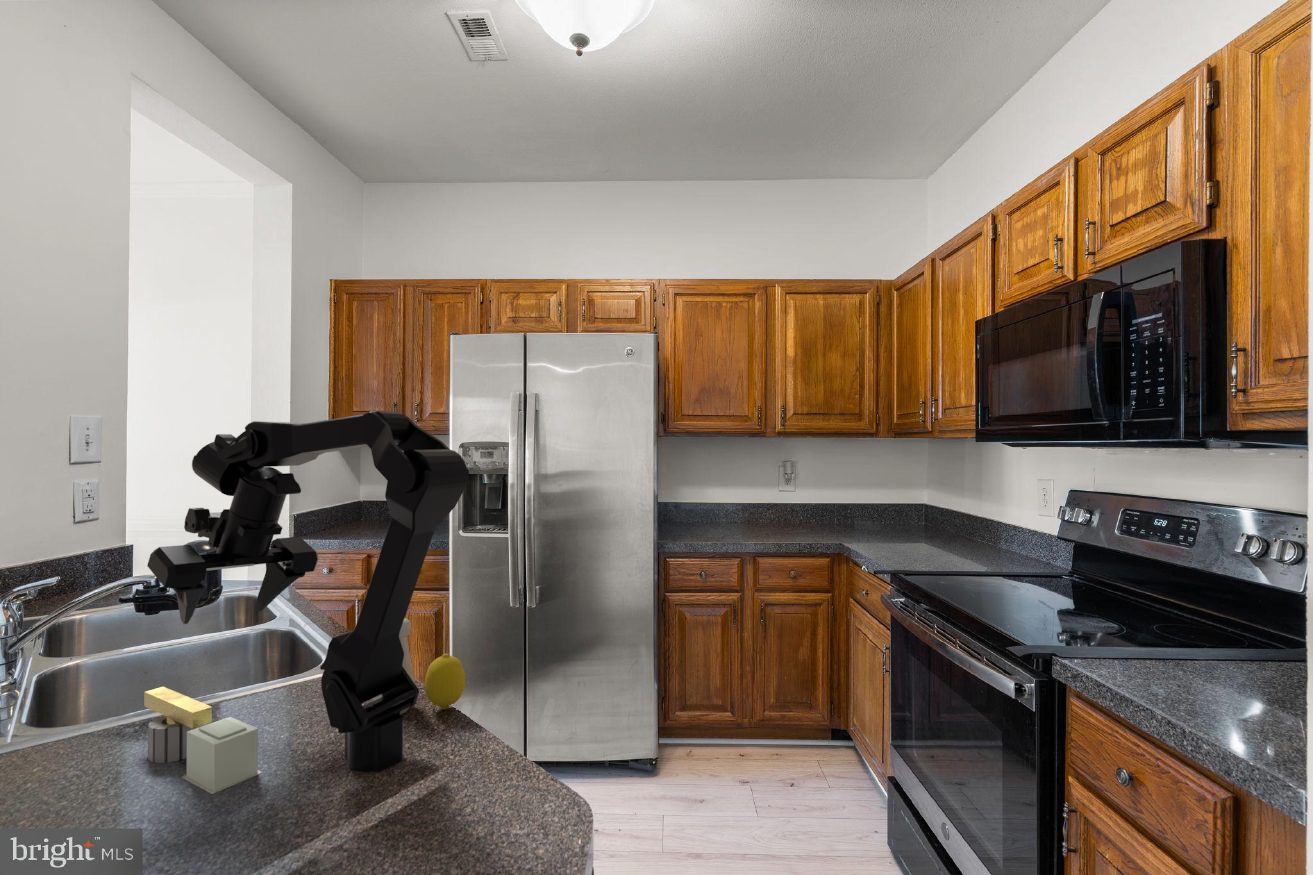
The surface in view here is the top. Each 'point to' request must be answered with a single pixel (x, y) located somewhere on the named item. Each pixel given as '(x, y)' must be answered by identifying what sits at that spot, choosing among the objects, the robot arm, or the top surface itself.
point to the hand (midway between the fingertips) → (222, 615)
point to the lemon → (445, 681)
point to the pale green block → (222, 753)
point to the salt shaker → (406, 660)
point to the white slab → (172, 745)
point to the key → (178, 707)
